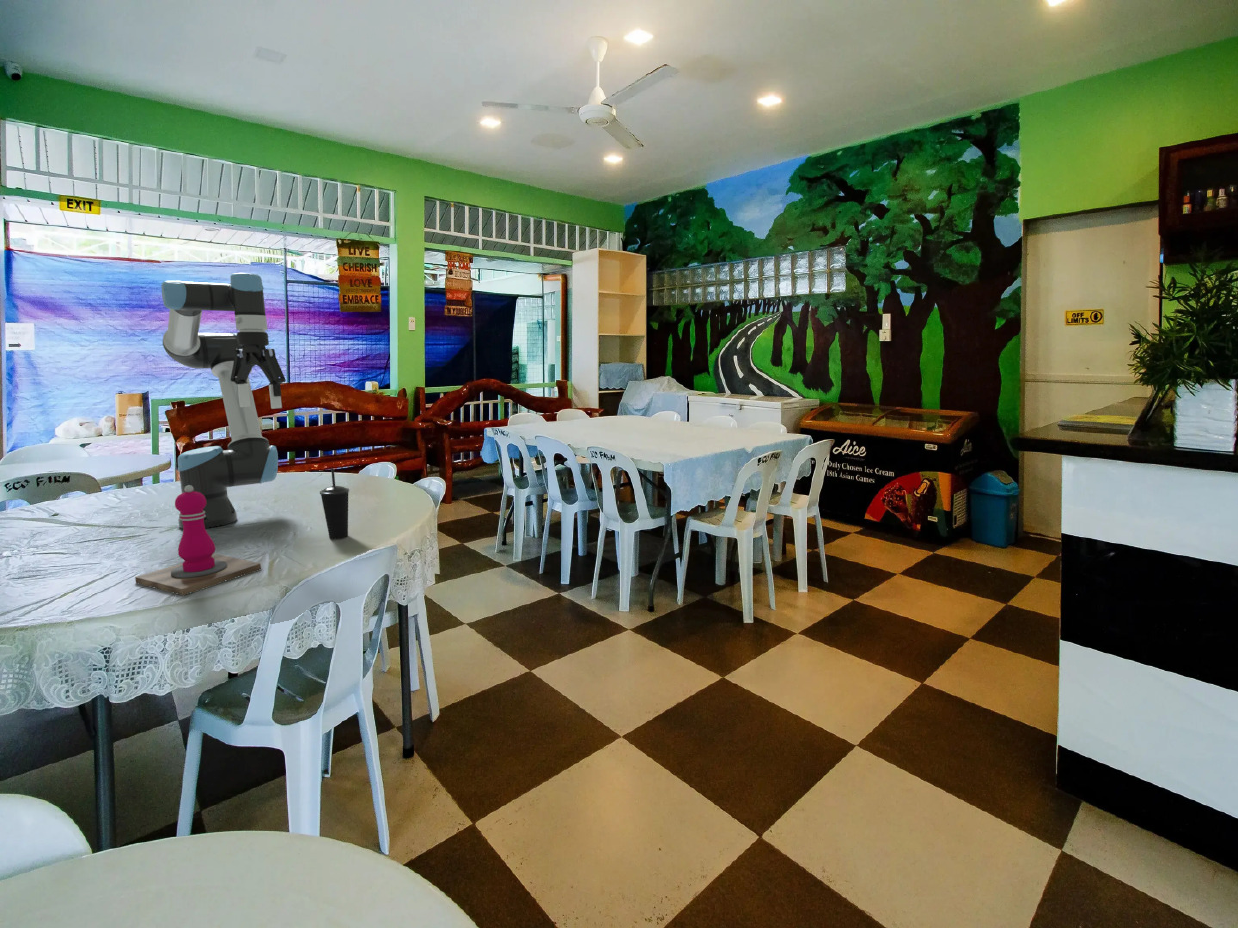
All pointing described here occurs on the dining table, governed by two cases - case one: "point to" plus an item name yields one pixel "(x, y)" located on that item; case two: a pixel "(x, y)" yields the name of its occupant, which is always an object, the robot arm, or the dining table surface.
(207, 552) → the pepper mill
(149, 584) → the mount board
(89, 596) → the dining table surface
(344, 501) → the drinking cup
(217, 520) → the robot arm
